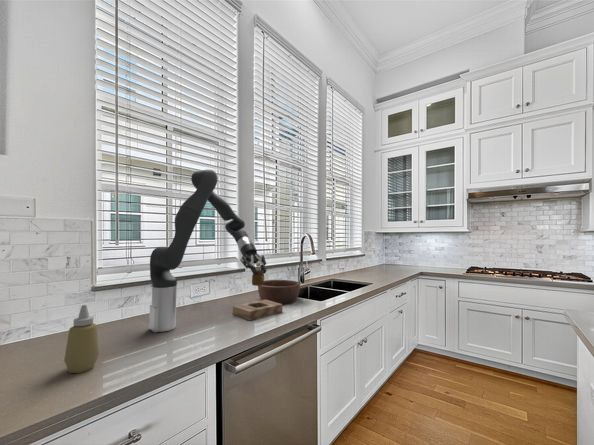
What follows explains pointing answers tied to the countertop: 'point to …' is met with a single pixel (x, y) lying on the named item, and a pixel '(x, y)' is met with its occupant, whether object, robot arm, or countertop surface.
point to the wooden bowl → (279, 291)
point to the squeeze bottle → (82, 343)
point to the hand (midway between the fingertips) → (260, 273)
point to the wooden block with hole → (257, 309)
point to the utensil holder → (258, 277)
